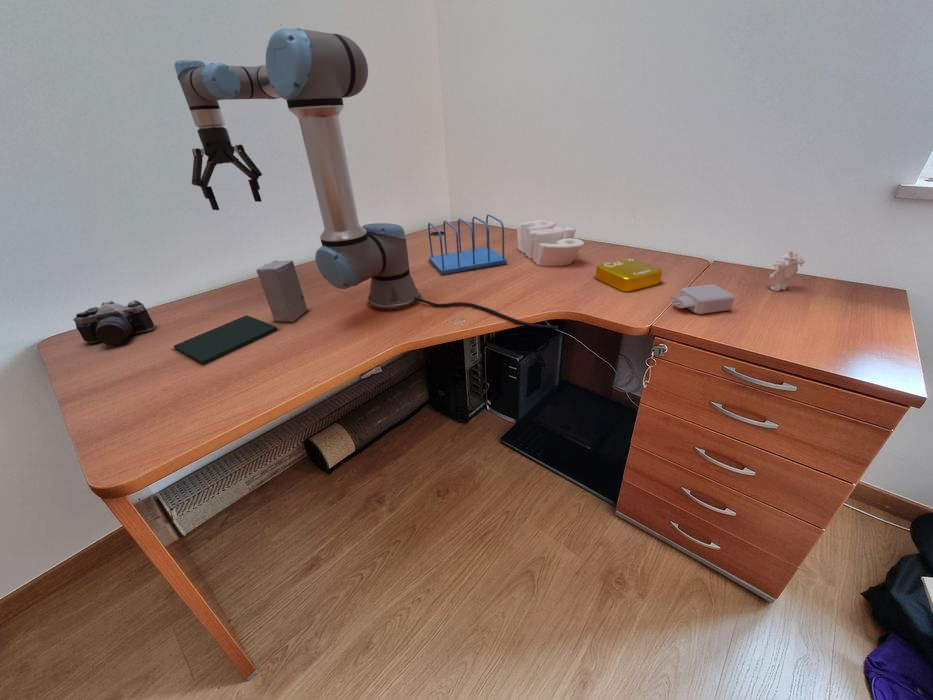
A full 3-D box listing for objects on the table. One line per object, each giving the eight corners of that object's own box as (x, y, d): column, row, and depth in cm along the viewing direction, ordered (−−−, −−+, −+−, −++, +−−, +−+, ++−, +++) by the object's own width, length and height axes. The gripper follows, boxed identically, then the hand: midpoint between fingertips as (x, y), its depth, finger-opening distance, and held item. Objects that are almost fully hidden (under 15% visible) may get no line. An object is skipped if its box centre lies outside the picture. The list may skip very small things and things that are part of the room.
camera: (79, 356, 102) (56, 321, 97) (90, 339, 110) (69, 306, 104) (151, 340, 108) (134, 306, 102) (157, 325, 116) (140, 293, 110)
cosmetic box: (293, 323, 112) (277, 269, 104) (271, 321, 114) (253, 269, 106) (309, 310, 119) (295, 259, 111) (288, 309, 121) (272, 258, 113)
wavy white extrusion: (511, 243, 167) (512, 218, 161) (548, 239, 169) (550, 214, 164) (542, 271, 138) (543, 241, 132) (586, 266, 140) (589, 236, 134)
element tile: (625, 293, 119) (628, 278, 117) (592, 277, 131) (594, 263, 128) (662, 283, 124) (666, 268, 122) (627, 269, 136) (630, 255, 133)
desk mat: (277, 330, 109) (276, 326, 109) (203, 365, 95) (202, 361, 95) (247, 318, 117) (246, 315, 116) (174, 348, 103) (173, 345, 102)
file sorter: (489, 251, 159) (488, 212, 151) (507, 264, 145) (507, 222, 137) (429, 260, 153) (425, 220, 145) (441, 275, 139) (438, 231, 131)
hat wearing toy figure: (771, 293, 114) (787, 252, 108) (760, 288, 117) (774, 248, 111) (797, 289, 116) (814, 248, 109) (785, 284, 119) (801, 245, 113)
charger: (658, 304, 112) (706, 298, 114) (678, 318, 104) (730, 311, 106) (661, 288, 109) (710, 282, 111) (683, 302, 101) (735, 295, 103)
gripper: (246, 126, 123) (267, 197, 134) (157, 130, 106) (190, 213, 117) (259, 124, 119) (280, 198, 130) (169, 129, 102) (202, 214, 113)
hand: (238, 205), depth 123 cm, fingers open, 13 cm apart
